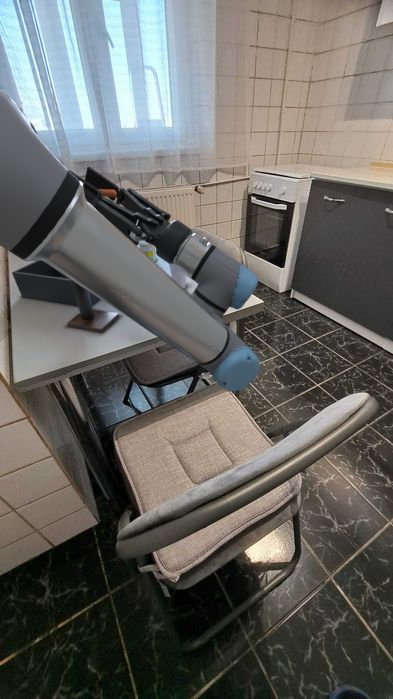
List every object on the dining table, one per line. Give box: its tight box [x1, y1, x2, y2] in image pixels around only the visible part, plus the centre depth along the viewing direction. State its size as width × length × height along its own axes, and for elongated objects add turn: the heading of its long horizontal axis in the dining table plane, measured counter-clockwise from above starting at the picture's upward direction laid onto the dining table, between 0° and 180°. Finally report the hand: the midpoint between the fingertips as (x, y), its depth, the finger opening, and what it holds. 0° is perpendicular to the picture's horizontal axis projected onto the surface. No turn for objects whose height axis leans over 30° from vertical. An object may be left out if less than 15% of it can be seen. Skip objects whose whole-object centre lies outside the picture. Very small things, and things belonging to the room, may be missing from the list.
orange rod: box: [98, 189, 117, 198], centre depth 56 cm, size 20×1×1 cm, turn 71°
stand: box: [66, 279, 120, 333], centre depth 66 cm, size 10×8×30 cm
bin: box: [11, 260, 101, 307], centre depth 88 cm, size 24×16×8 cm, turn 71°
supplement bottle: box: [138, 241, 157, 262], centre depth 106 cm, size 5×5×10 cm
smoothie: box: [168, 263, 187, 289], centre depth 86 cm, size 6×6×14 cm
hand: (78, 176), depth 54 cm, fingers open, 5 cm apart
